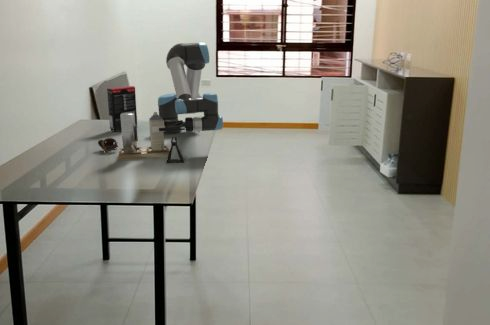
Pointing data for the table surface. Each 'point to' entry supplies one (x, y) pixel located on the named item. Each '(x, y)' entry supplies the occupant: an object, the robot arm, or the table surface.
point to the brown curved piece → (108, 144)
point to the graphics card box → (121, 105)
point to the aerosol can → (156, 133)
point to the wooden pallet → (143, 154)
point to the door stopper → (177, 151)
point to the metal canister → (129, 132)
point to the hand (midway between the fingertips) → (151, 126)
